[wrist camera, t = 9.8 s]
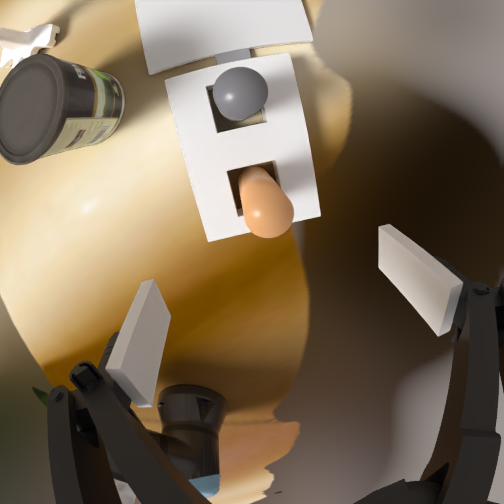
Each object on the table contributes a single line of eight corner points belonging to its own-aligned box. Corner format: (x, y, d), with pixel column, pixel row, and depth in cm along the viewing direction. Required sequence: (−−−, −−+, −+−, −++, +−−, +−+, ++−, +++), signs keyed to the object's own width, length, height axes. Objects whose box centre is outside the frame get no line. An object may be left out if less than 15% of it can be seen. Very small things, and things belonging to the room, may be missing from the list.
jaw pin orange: (273, 193, 34) (297, 231, 22) (242, 200, 34) (250, 242, 22) (267, 163, 32) (289, 185, 21) (235, 170, 32) (238, 196, 21)
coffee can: (79, 64, 23) (14, 48, 11) (139, 84, 26) (85, 63, 14) (51, 133, 27) (-19, 148, 14) (105, 157, 30) (42, 181, 17)
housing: (313, 208, 35) (320, 216, 33) (209, 232, 36) (208, 241, 33) (284, 59, 26) (289, 53, 24) (169, 84, 27) (164, 80, 24)
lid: (315, 56, 26) (317, 54, 25) (154, 89, 27) (151, 88, 26) (284, -35, 19) (286, -39, 18) (135, -6, 20) (133, -9, 19)
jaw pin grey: (256, 117, 30) (273, 111, 18) (223, 125, 30) (219, 122, 18) (248, 87, 28) (261, 62, 16) (215, 94, 28) (207, 73, 16)
